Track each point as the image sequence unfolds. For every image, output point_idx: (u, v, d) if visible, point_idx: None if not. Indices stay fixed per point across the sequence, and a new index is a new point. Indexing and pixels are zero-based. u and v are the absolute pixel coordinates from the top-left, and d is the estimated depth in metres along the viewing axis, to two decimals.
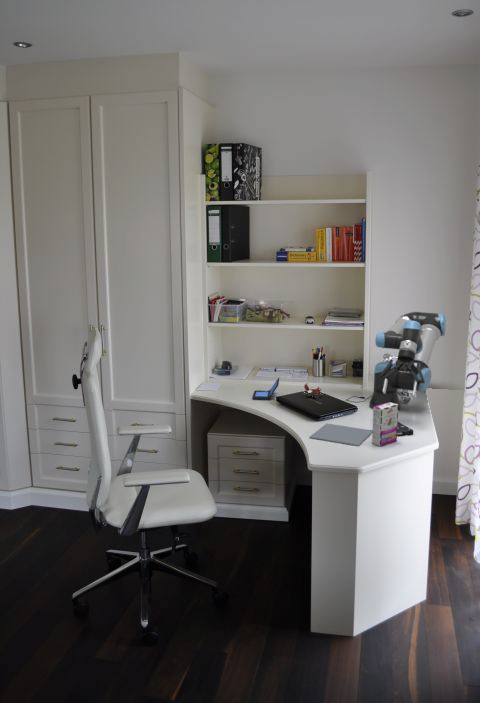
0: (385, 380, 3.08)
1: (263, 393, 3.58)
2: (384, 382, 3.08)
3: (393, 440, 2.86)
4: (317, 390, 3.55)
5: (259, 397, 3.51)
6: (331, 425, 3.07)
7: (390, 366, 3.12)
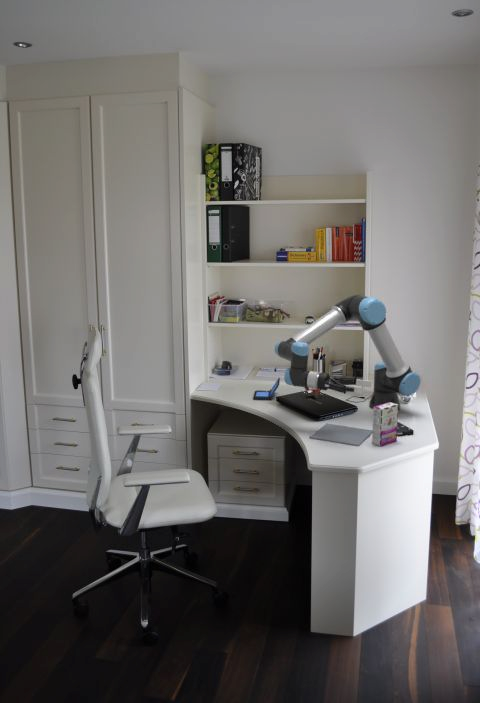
0: (358, 385, 2.94)
1: (264, 393, 3.58)
2: (360, 385, 2.94)
3: (393, 440, 2.86)
4: (317, 390, 3.55)
5: (260, 397, 3.51)
6: (331, 425, 3.07)
7: None
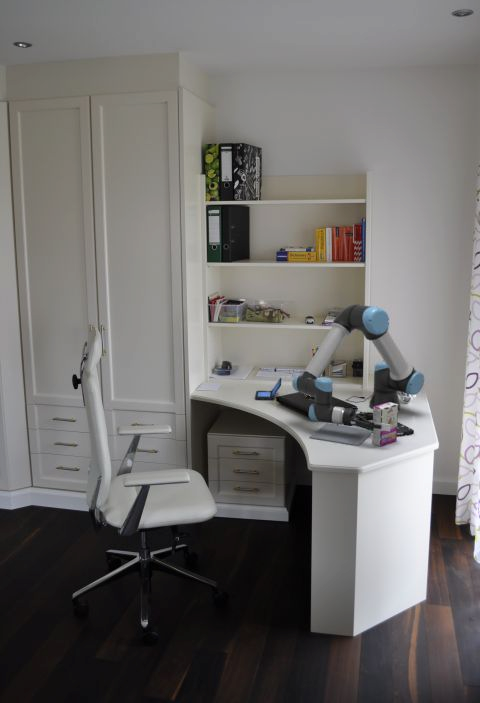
0: None
1: (265, 393, 3.58)
2: None
3: (393, 440, 2.86)
4: None
5: (262, 397, 3.51)
6: (331, 425, 3.07)
7: None
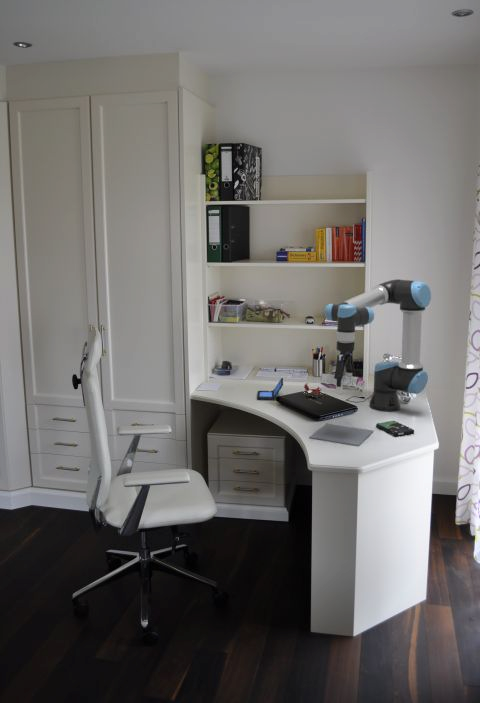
0: None
1: (267, 393, 3.58)
2: None
3: (327, 387, 2.97)
4: (317, 390, 3.55)
5: (264, 397, 3.51)
6: (331, 425, 3.07)
7: None
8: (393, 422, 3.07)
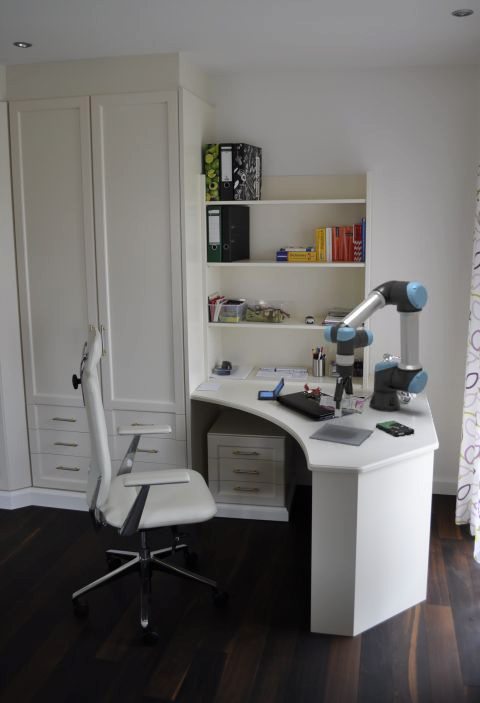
0: None
1: (268, 393, 3.58)
2: None
3: (326, 408, 2.98)
4: (317, 390, 3.55)
5: (265, 397, 3.50)
6: (331, 425, 3.07)
7: None
8: (393, 422, 3.07)
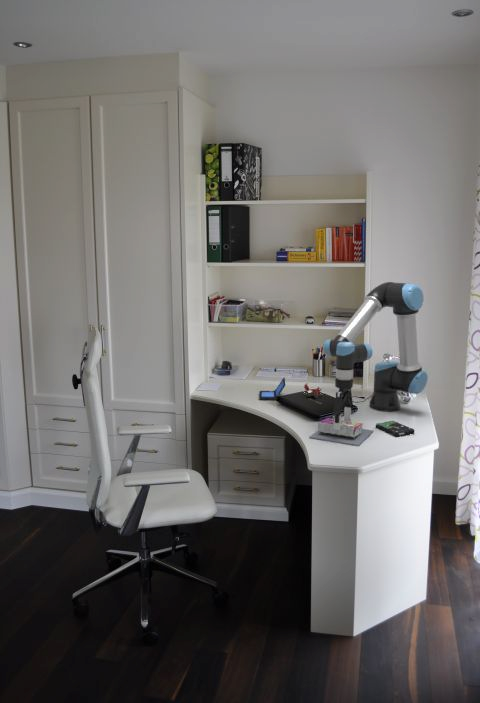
0: (344, 409, 3.00)
1: (269, 393, 3.58)
2: None
3: None
4: (317, 390, 3.55)
5: (266, 397, 3.50)
6: None
7: None
8: (392, 422, 3.07)
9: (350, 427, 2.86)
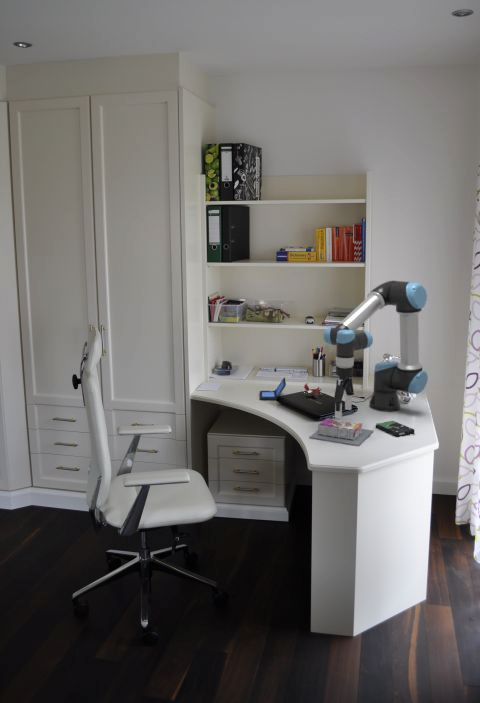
0: None
1: (269, 393, 3.58)
2: None
3: None
4: (317, 390, 3.55)
5: (266, 397, 3.50)
6: None
7: None
8: (392, 422, 3.07)
9: (350, 430, 2.86)
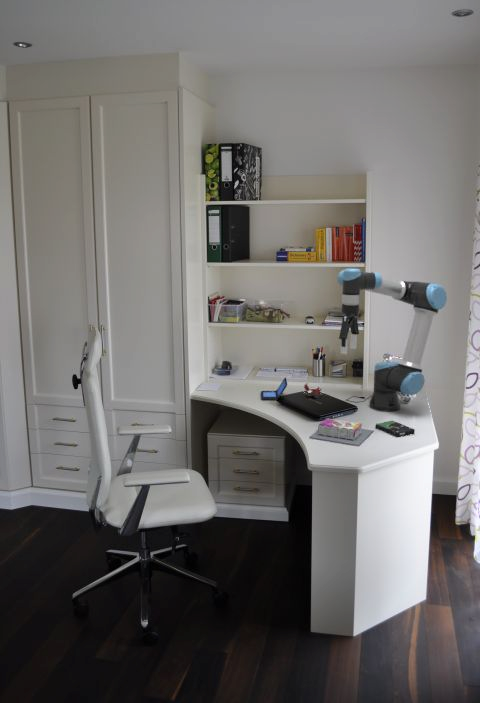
0: None
1: (270, 393, 3.58)
2: (351, 338, 3.08)
3: None
4: (317, 390, 3.55)
5: (268, 397, 3.50)
6: None
7: None
8: (392, 422, 3.07)
9: (350, 430, 2.86)
